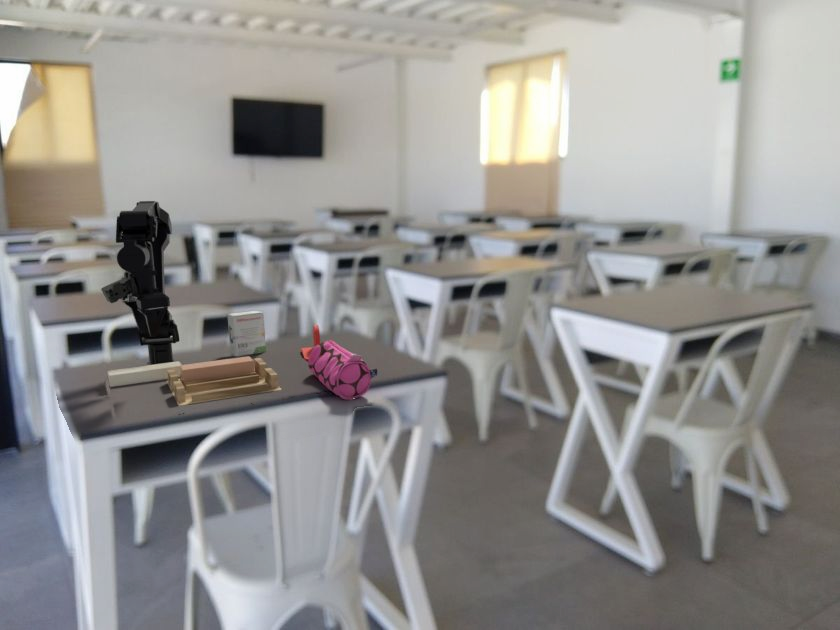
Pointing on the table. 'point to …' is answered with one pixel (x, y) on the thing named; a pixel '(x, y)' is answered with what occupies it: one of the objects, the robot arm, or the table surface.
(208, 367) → the fired brick
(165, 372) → the long ivory plank
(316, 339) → the bracket
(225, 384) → the rack
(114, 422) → the table surface
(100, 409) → the table surface
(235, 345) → the ink box
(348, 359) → the pencil case
